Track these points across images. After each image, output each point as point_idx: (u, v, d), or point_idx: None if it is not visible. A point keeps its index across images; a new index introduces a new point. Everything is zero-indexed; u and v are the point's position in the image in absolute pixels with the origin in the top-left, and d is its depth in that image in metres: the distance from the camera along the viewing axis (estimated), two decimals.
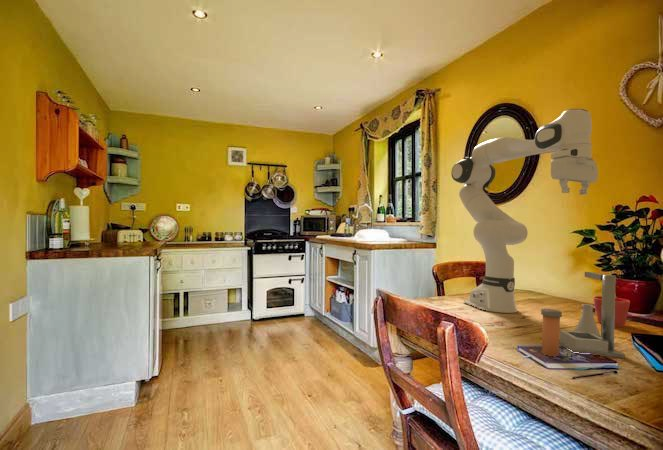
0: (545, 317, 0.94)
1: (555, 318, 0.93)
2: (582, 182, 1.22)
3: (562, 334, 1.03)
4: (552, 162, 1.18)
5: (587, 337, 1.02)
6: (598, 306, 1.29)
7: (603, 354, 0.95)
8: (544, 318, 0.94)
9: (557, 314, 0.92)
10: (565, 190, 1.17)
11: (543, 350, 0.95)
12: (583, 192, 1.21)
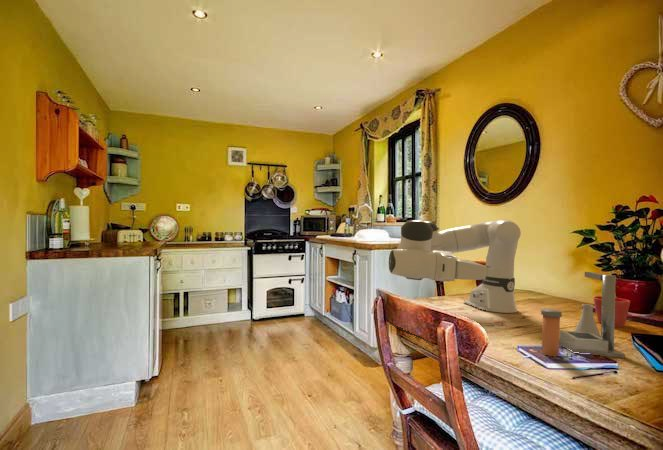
0: (545, 317, 0.94)
1: (555, 318, 0.93)
2: None
3: (562, 334, 1.03)
4: (462, 277, 0.90)
5: (587, 337, 1.02)
6: (598, 306, 1.29)
7: (603, 354, 0.95)
8: (544, 318, 0.94)
9: (557, 314, 0.92)
10: (497, 270, 0.92)
11: (543, 350, 0.95)
12: (488, 267, 1.02)
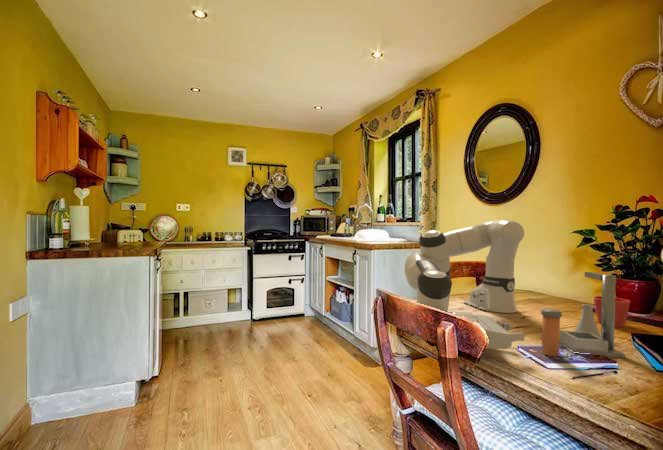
0: (545, 317, 0.94)
1: (555, 318, 0.93)
2: None
3: (562, 334, 1.03)
4: (487, 346, 0.88)
5: (587, 337, 1.02)
6: (598, 306, 1.29)
7: (603, 354, 0.95)
8: (544, 318, 0.94)
9: (557, 314, 0.92)
10: (521, 335, 0.90)
11: (543, 350, 0.95)
12: (508, 325, 1.00)
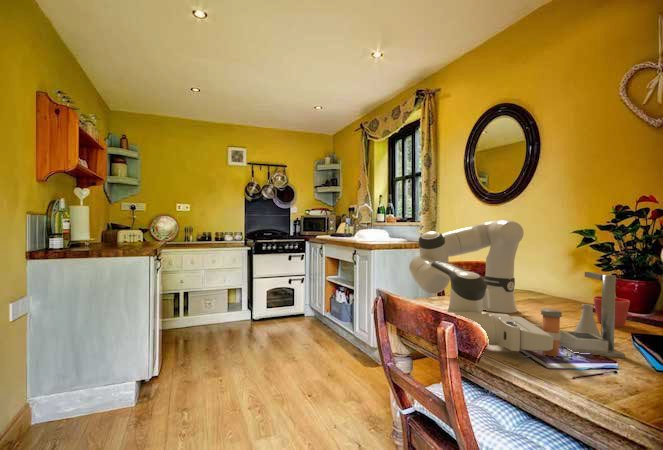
0: (545, 317, 0.94)
1: (555, 318, 0.93)
2: None
3: (562, 334, 1.03)
4: (528, 348, 0.87)
5: (587, 337, 1.02)
6: (598, 306, 1.29)
7: (603, 354, 0.95)
8: (544, 318, 0.95)
9: (557, 314, 0.92)
10: (557, 335, 0.91)
11: None
12: None
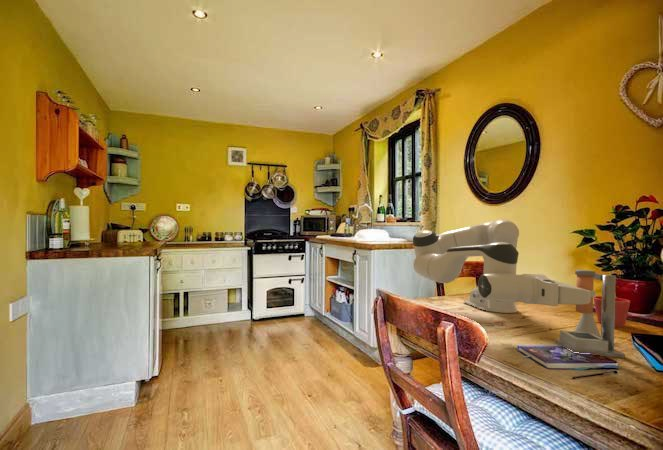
0: (579, 276, 0.99)
1: (589, 277, 0.98)
2: None
3: (562, 334, 1.03)
4: (567, 302, 0.92)
5: (587, 337, 1.02)
6: (598, 306, 1.29)
7: (603, 354, 0.95)
8: (578, 277, 1.00)
9: (591, 273, 0.98)
10: (592, 292, 0.97)
11: (577, 308, 1.00)
12: None
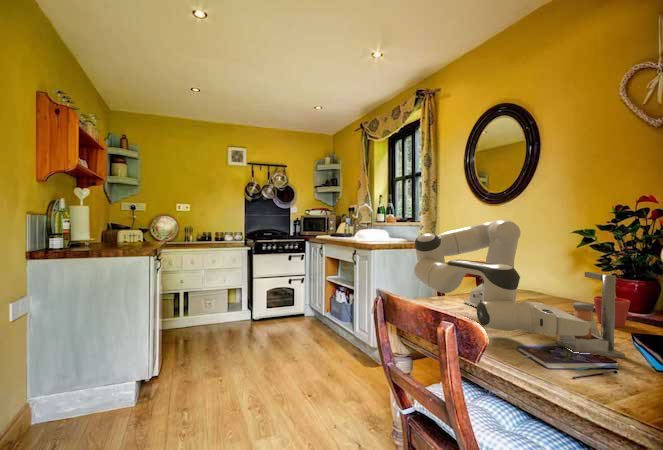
0: (577, 310, 0.99)
1: (587, 311, 0.98)
2: None
3: None
4: (565, 333, 0.92)
5: None
6: (598, 306, 1.29)
7: (603, 354, 0.95)
8: (576, 311, 1.00)
9: (589, 307, 0.98)
10: (594, 323, 0.95)
11: None
12: None
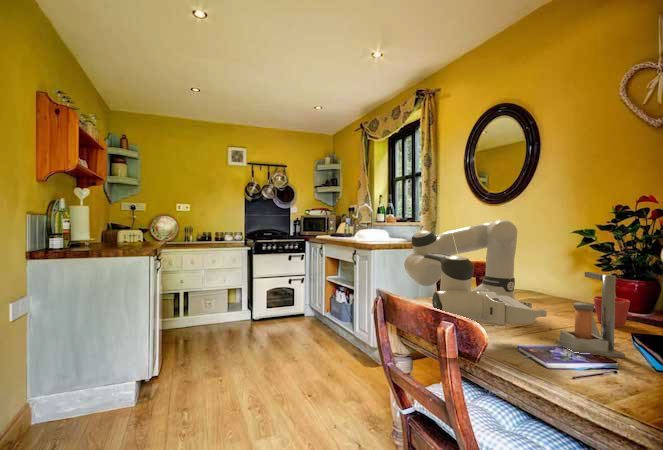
0: (578, 310, 0.99)
1: (588, 311, 0.98)
2: None
3: (562, 334, 1.03)
4: (512, 321, 0.93)
5: None
6: (598, 306, 1.29)
7: (603, 354, 0.95)
8: (577, 311, 1.00)
9: (590, 307, 0.98)
10: (543, 312, 0.96)
11: None
12: (529, 304, 1.05)
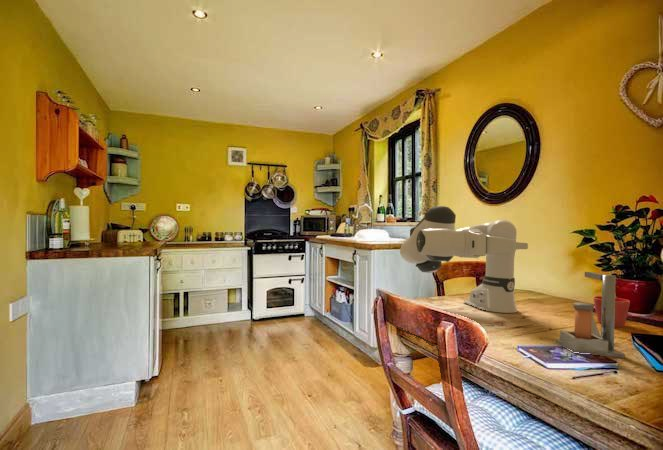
0: (577, 310, 0.99)
1: (587, 311, 0.98)
2: None
3: (562, 334, 1.03)
4: (493, 251, 0.94)
5: None
6: (598, 306, 1.29)
7: (603, 354, 0.95)
8: (576, 311, 1.00)
9: (589, 307, 0.98)
10: (525, 244, 0.97)
11: None
12: None
